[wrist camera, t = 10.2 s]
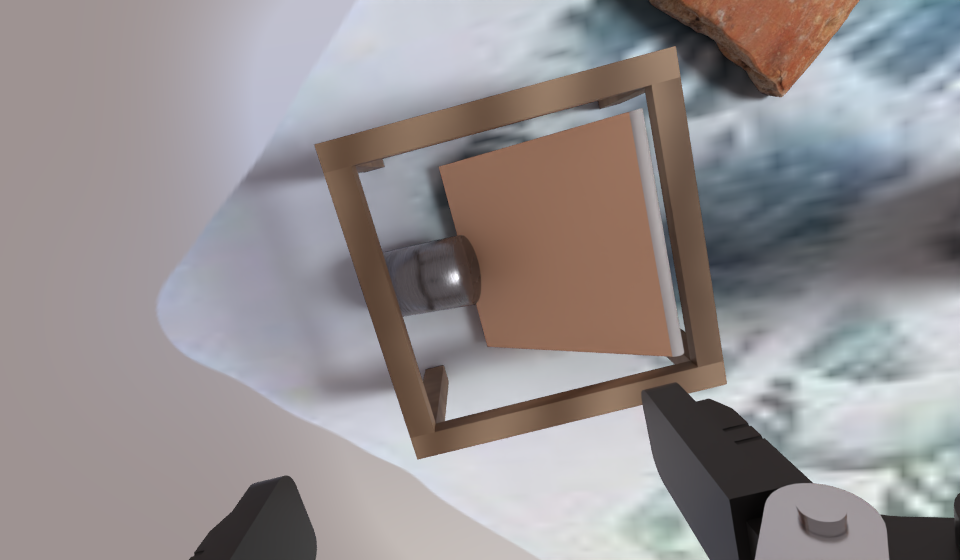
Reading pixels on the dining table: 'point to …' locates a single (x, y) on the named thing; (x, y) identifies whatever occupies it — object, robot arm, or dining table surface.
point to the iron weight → (435, 275)
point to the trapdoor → (569, 241)
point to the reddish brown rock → (765, 33)
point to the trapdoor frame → (601, 84)
